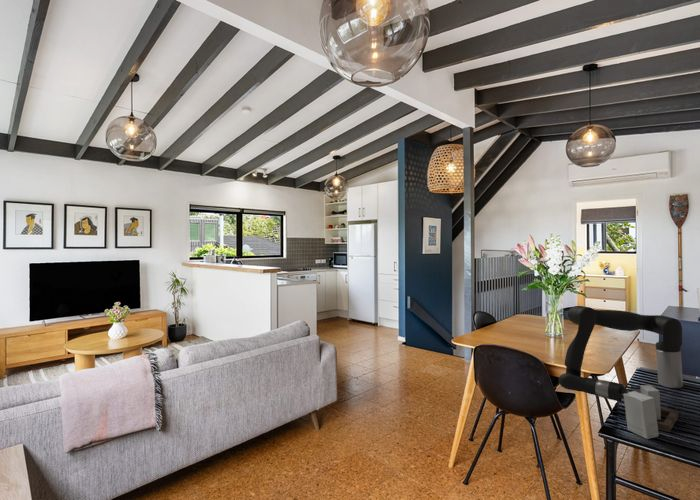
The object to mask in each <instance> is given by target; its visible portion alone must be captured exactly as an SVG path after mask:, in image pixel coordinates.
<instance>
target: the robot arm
mask: <svg viewBox="0 0 700 500" xmlns="http://www.w3.org/2000/svg"><path fill="white" fill-rule="evenodd" d="M567 318H568V320H569V321H570V322H571V323H573V324H574V325H578V327H577V331H576V334H575V336H574V338H573V339H572V340H571V342H570V344H569V345H568V347H567V349H566V353H565V359H564V366H565V367H566V368H565V373H562V374H560V376H559V377H558V384H559V385H560V386H561V387H562V388H564V389H566V390H570V391H576V392H582V393H585V394H588V395H592V396H597V397H600V398H603V399H608V400H612V401H616V402H620V403H623V404H625V403H624V395H623V394H625V393H629V392H632V391H636V392H639V393H641V389H640V387H637V386H632V385H630V388H626V387H625V385H624V384H623V383H619V382H616V381H615V382H614V381H610V380H604V379H597V378H592V377H582V366H583V361H584V357H585V356H584V355H585V352H586V348H587V345H588V343H589V340H590V339H591V338H590V337H591V335H592V332H593V330H594V328H595V326H600V327H604V328H608V329H612V330H617V331H624V332H625V331H626V332H635V331H639V330H640V331H647V332H652V333H655V334H658V335H661V336H662V340H660V341H657V342H656V343H655V355H656V357H655V358H656V369H657V381H658V384H659V385H661V386H662V387H666V388H671V389H672V388H673V389H679V388H683V387H684V381H683V380H684V378H683V364H682V352H681V350H682V349H681V347H682V345H683V327H682V324H681V323H682V322H680V320H679V319H677V318H675V317H670V316H666V315H660V314H659V315H658V314H657V315H656V314H655V315H653V314H652V315H650V314H639V313H636V312H631V311H625V310H624V311H623V310H613V309H593V307H589V306H583V305H575V306H572V307H571V308H569V309H568V311H567ZM654 403H655V402H654Z"/></svg>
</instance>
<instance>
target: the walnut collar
mask: <svg viewBox="0 0 700 500" xmlns="http://www.w3.org/2000/svg"><path fill="white" fill-rule="evenodd" d="M660 410H661V417H665V418H664V420H663V421H661V420H657V425H658V431H659V430H660V431H662V432H663V431H664V432H667V433H670V432H671V430H672V428H673V427H674V425H675V424H676V422H677V421H678V420H679V419H678V418H679V412H678V411H675V410H671V409H667V408H663V407H660ZM624 419H625V421H626V422H627V419H626V414H625V416H624Z"/></svg>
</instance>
